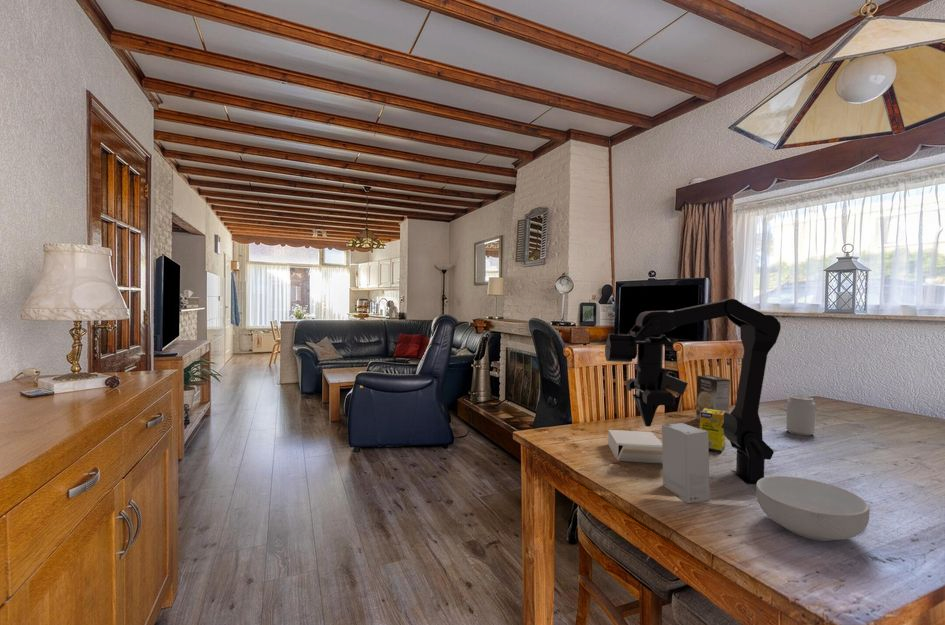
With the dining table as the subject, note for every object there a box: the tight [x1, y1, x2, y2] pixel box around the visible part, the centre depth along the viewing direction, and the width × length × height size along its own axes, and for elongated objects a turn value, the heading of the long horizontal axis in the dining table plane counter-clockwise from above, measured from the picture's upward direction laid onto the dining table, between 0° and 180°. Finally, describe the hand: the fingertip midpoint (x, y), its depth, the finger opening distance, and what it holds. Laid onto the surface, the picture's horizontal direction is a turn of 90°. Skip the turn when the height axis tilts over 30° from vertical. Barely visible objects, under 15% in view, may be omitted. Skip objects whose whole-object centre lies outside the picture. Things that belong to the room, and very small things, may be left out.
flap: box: [616, 445, 663, 465], centre depth 110 cm, size 1×12×9 cm
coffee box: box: [695, 374, 731, 421], centre depth 156 cm, size 9×6×16 cm
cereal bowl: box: [755, 475, 870, 542], centre depth 82 cm, size 17×17×7 cm
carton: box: [607, 429, 662, 460], centre depth 120 cm, size 12×12×5 cm
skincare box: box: [661, 422, 710, 504], centre depth 96 cm, size 8×6×15 cm
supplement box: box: [699, 408, 726, 454], centre depth 127 cm, size 6×6×11 cm
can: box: [785, 394, 817, 437], centre depth 144 cm, size 8×8×12 cm
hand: (647, 426), depth 107 cm, fingers closed
